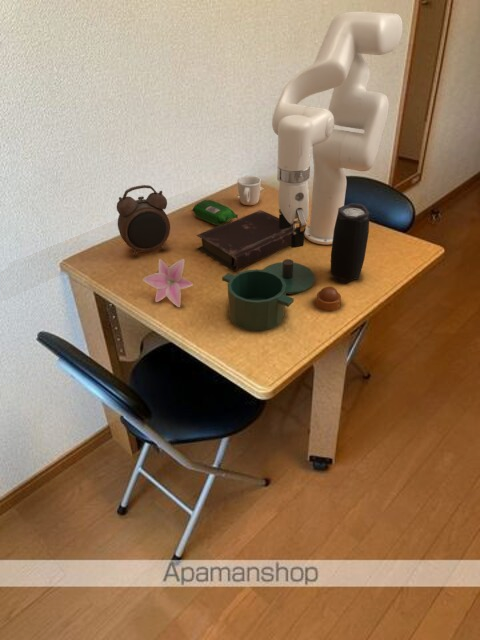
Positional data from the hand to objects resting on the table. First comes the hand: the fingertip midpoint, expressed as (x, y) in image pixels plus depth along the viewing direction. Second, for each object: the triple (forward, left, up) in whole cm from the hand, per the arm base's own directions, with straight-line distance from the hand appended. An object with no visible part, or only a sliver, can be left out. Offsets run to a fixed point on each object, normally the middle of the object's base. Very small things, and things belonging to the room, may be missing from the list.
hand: (290, 236), depth 126 cm
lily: (+32, -6, -13) cm, 35 cm away
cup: (-9, -47, -13) cm, 49 cm away
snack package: (+6, -41, -13) cm, 43 cm away
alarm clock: (+31, -31, -13) cm, 45 cm away
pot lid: (+1, +1, -12) cm, 12 cm away
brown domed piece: (-3, +14, -13) cm, 20 cm away
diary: (+3, -21, -13) cm, 24 cm away
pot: (+15, +10, -13) cm, 22 cm away
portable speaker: (-14, +5, -13) cm, 20 cm away
